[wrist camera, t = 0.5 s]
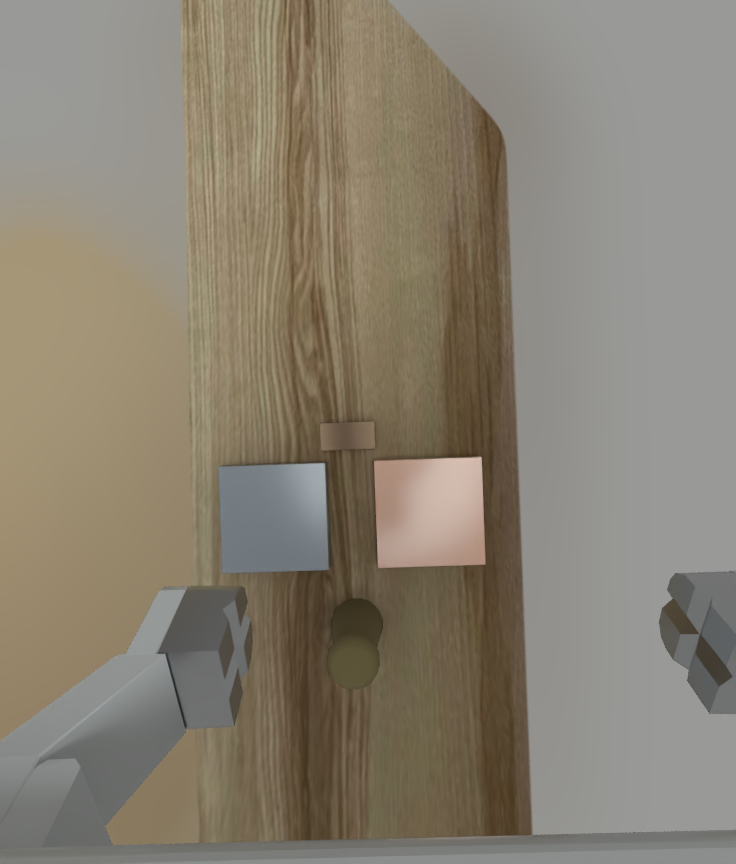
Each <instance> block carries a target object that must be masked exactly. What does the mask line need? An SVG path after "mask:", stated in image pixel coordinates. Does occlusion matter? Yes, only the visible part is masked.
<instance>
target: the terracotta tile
mask: <svg viewBox="0 0 736 864" xmlns="http://www.w3.org/2000/svg"><path fill="white" fill-rule="evenodd" d="M374 472H375V499H376V526H377V553H378V568H394V567H424V566H455V565H485V539H484V511H483V483H482V457H479V456H471V457H443V458H415V459H387V460H374Z"/></svg>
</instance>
